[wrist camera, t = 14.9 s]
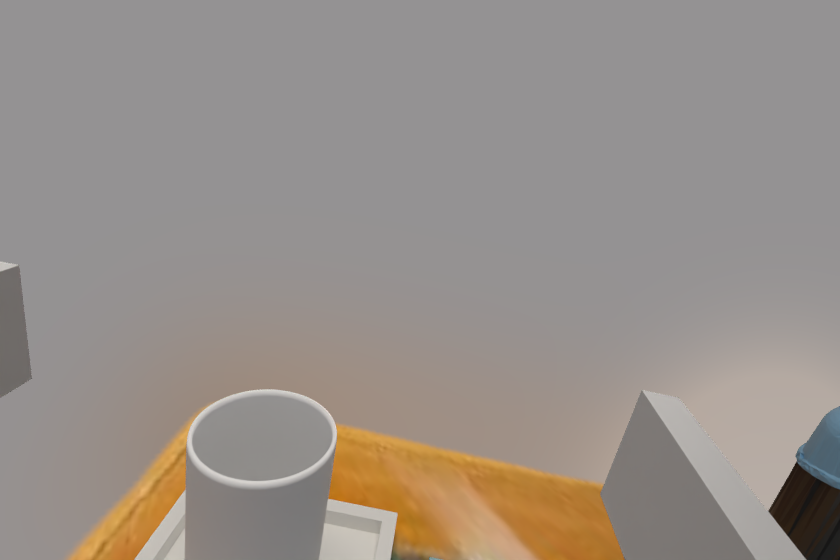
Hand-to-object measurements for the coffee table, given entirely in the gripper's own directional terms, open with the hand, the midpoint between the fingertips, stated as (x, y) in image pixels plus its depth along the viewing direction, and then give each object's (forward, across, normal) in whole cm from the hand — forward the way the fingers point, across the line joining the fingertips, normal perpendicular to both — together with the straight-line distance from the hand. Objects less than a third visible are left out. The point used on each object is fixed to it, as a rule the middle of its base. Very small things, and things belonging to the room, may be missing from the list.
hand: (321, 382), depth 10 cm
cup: (+14, -6, -29) cm, 33 cm away
